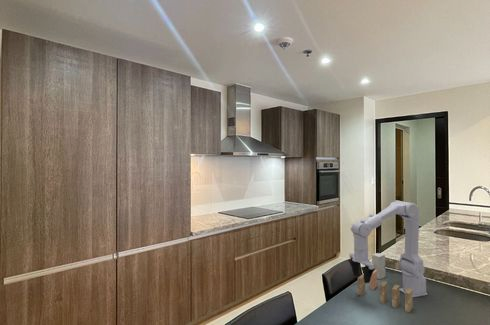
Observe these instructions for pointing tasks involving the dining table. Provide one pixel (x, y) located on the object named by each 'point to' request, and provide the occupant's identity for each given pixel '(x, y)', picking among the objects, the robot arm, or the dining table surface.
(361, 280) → the domino
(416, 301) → the dining table surface
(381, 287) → the domino
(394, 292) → the domino
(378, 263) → the skincare box
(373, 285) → the domino
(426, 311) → the dining table surface
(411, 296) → the domino
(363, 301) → the dining table surface
